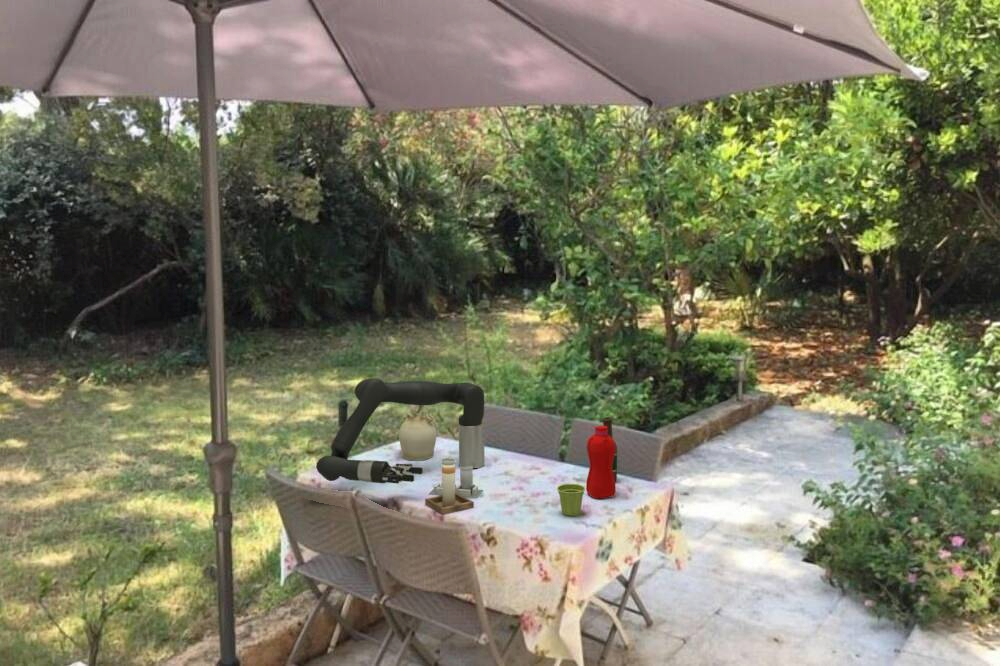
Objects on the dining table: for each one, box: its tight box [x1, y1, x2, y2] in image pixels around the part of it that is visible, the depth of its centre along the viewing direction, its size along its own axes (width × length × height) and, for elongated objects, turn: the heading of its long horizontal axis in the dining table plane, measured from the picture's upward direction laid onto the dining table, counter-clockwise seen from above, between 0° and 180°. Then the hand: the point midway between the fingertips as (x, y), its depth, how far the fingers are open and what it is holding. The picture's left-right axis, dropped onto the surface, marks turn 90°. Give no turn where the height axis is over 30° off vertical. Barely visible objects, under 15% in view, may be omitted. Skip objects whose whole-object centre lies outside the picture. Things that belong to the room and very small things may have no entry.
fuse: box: [459, 464, 474, 494], centre depth 288 cm, size 4×4×10 cm
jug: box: [398, 405, 437, 461], centre depth 336 cm, size 15×16×25 cm
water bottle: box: [585, 425, 617, 500], centre depth 287 cm, size 9×11×25 cm
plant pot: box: [556, 483, 586, 517], centre depth 270 cm, size 9×9×9 cm
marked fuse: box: [441, 457, 456, 507], centre depth 275 cm, size 5×5×16 cm
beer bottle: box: [602, 416, 618, 483], centre depth 302 cm, size 8×8×24 cm
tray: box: [424, 492, 475, 516], centre depth 276 cm, size 12×12×3 cm
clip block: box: [427, 482, 484, 499], centre depth 290 cm, size 18×9×3 cm, turn 76°
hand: (418, 474), depth 277 cm, fingers open, 8 cm apart
